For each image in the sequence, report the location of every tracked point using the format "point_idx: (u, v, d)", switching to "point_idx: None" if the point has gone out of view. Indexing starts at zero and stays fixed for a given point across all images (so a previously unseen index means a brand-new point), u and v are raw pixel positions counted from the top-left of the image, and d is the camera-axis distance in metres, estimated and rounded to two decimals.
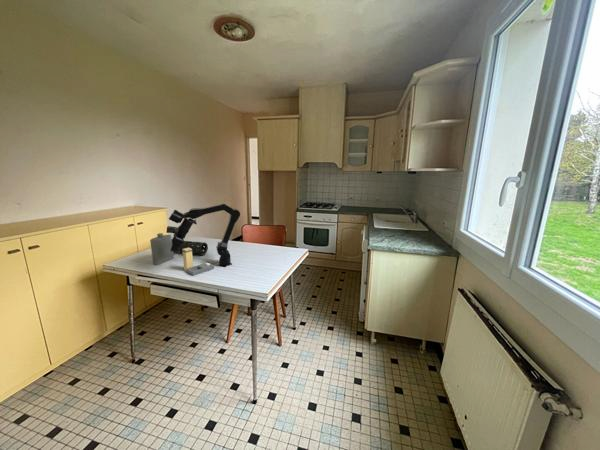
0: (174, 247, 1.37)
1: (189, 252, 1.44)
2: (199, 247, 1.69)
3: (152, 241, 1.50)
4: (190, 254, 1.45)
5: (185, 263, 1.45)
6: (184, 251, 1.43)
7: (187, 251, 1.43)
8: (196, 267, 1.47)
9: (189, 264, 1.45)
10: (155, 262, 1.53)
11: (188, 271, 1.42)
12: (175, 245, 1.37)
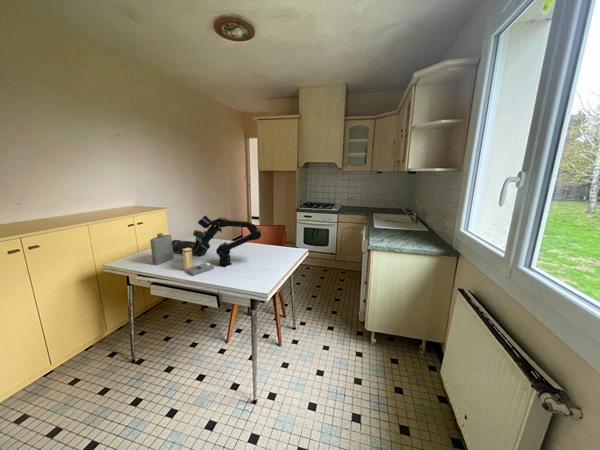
0: (199, 250, 1.43)
1: (189, 252, 1.44)
2: None
3: (152, 241, 1.50)
4: (190, 254, 1.44)
5: (185, 263, 1.45)
6: (184, 251, 1.43)
7: (187, 251, 1.43)
8: (196, 267, 1.47)
9: (189, 264, 1.45)
10: (155, 262, 1.53)
11: (188, 271, 1.42)
12: (200, 249, 1.43)
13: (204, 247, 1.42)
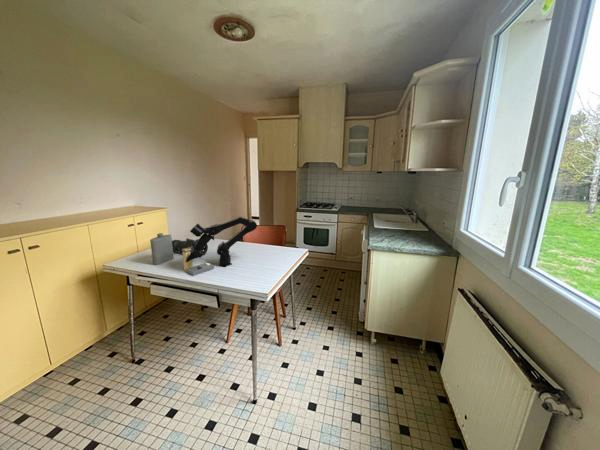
0: (190, 258, 1.43)
1: (189, 252, 1.44)
2: None
3: (152, 241, 1.50)
4: None
5: (185, 263, 1.45)
6: (184, 251, 1.43)
7: (187, 251, 1.43)
8: (196, 267, 1.47)
9: (189, 264, 1.45)
10: (155, 262, 1.53)
11: (188, 271, 1.42)
12: (192, 257, 1.43)
13: None
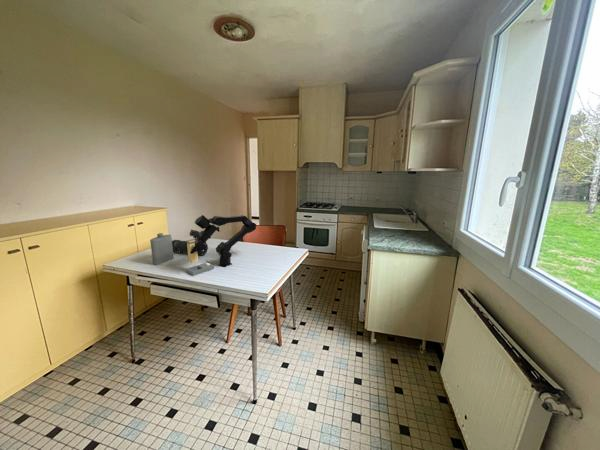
0: (195, 250, 1.40)
1: (194, 243, 1.41)
2: None
3: (152, 241, 1.50)
4: (194, 245, 1.41)
5: (189, 255, 1.41)
6: (188, 242, 1.39)
7: (191, 242, 1.39)
8: (196, 267, 1.47)
9: (194, 256, 1.42)
10: (155, 262, 1.53)
11: (188, 271, 1.42)
12: (196, 248, 1.40)
13: (200, 246, 1.39)
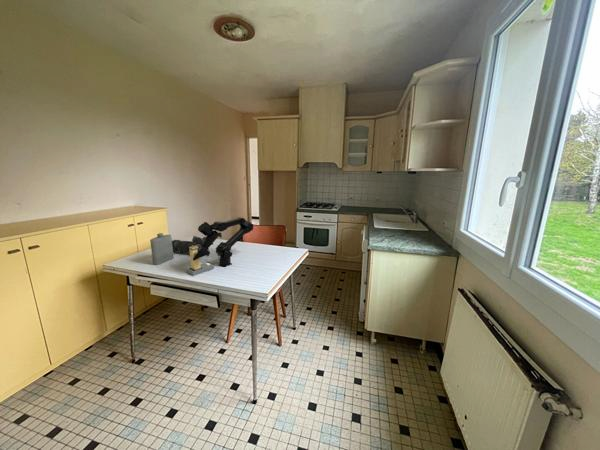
0: (197, 257, 1.39)
1: (196, 250, 1.40)
2: None
3: (152, 241, 1.50)
4: None
5: (192, 261, 1.41)
6: (191, 249, 1.39)
7: (194, 249, 1.39)
8: None
9: (196, 262, 1.41)
10: (155, 262, 1.53)
11: (188, 271, 1.42)
12: (199, 255, 1.39)
13: (203, 253, 1.38)
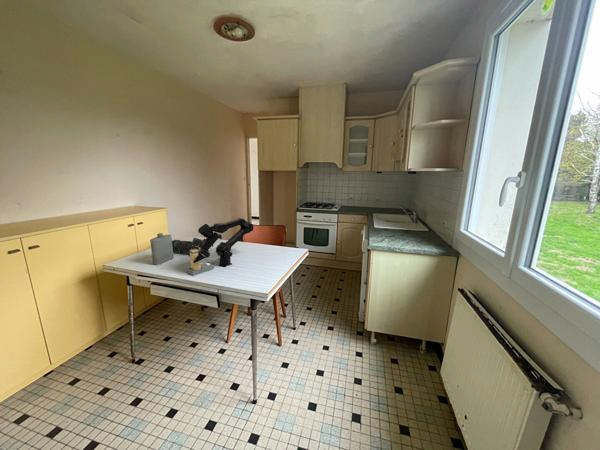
0: (198, 259, 1.38)
1: (197, 253, 1.41)
2: None
3: (152, 241, 1.50)
4: None
5: (192, 264, 1.41)
6: (191, 252, 1.39)
7: (194, 252, 1.39)
8: None
9: (196, 265, 1.42)
10: (155, 262, 1.53)
11: (188, 271, 1.42)
12: (199, 257, 1.38)
13: (204, 256, 1.37)
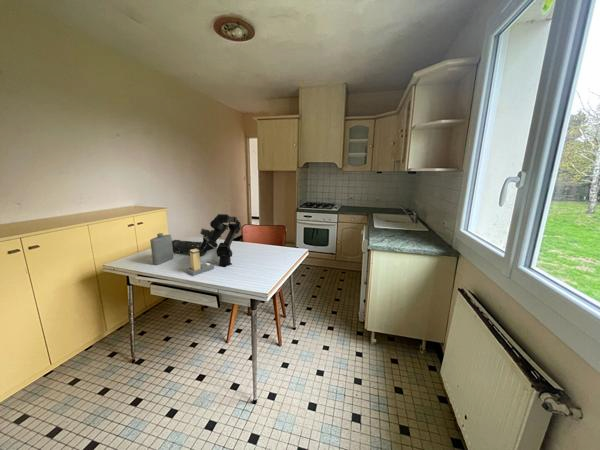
0: (206, 249, 1.40)
1: (197, 253, 1.41)
2: None
3: (152, 241, 1.50)
4: (197, 255, 1.41)
5: (192, 264, 1.41)
6: (191, 252, 1.39)
7: (194, 252, 1.39)
8: None
9: (197, 265, 1.42)
10: (155, 262, 1.53)
11: (188, 271, 1.42)
12: (207, 248, 1.40)
13: (212, 246, 1.39)
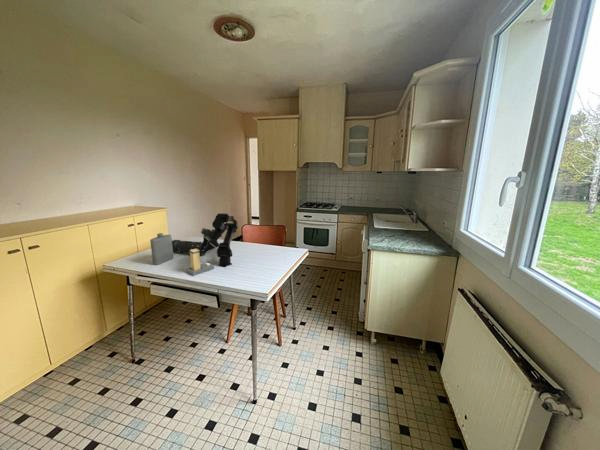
0: (207, 249, 1.40)
1: (197, 253, 1.41)
2: (199, 247, 1.69)
3: (152, 241, 1.50)
4: (197, 255, 1.41)
5: (192, 264, 1.41)
6: (191, 252, 1.39)
7: (194, 252, 1.39)
8: None
9: (197, 265, 1.42)
10: (155, 262, 1.53)
11: (188, 271, 1.42)
12: (209, 247, 1.40)
13: (213, 246, 1.39)
